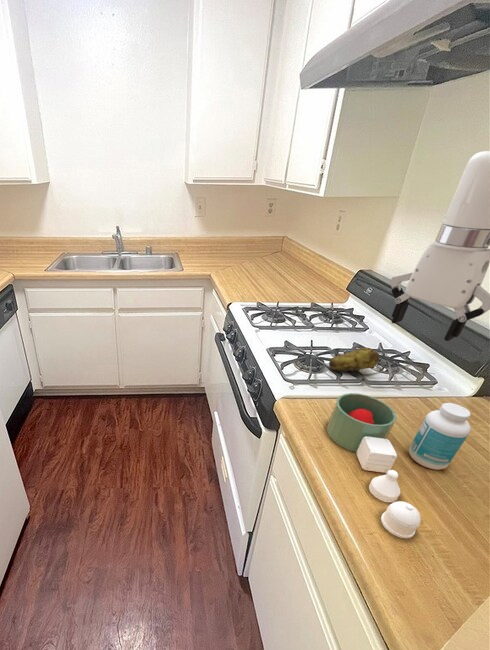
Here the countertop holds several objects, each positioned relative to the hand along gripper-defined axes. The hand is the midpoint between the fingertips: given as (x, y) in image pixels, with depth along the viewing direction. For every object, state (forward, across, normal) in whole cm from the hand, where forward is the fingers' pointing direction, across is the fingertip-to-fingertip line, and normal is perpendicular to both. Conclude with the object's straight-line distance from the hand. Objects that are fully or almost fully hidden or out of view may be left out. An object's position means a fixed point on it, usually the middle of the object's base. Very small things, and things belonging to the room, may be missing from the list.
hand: (421, 330), depth 68 cm
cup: (+26, +2, +6) cm, 27 cm away
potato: (+27, +20, -22) cm, 39 cm away
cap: (+26, +2, +6) cm, 27 cm away
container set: (+27, -11, +17) cm, 33 cm away
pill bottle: (+27, -11, -1) cm, 29 cm away
